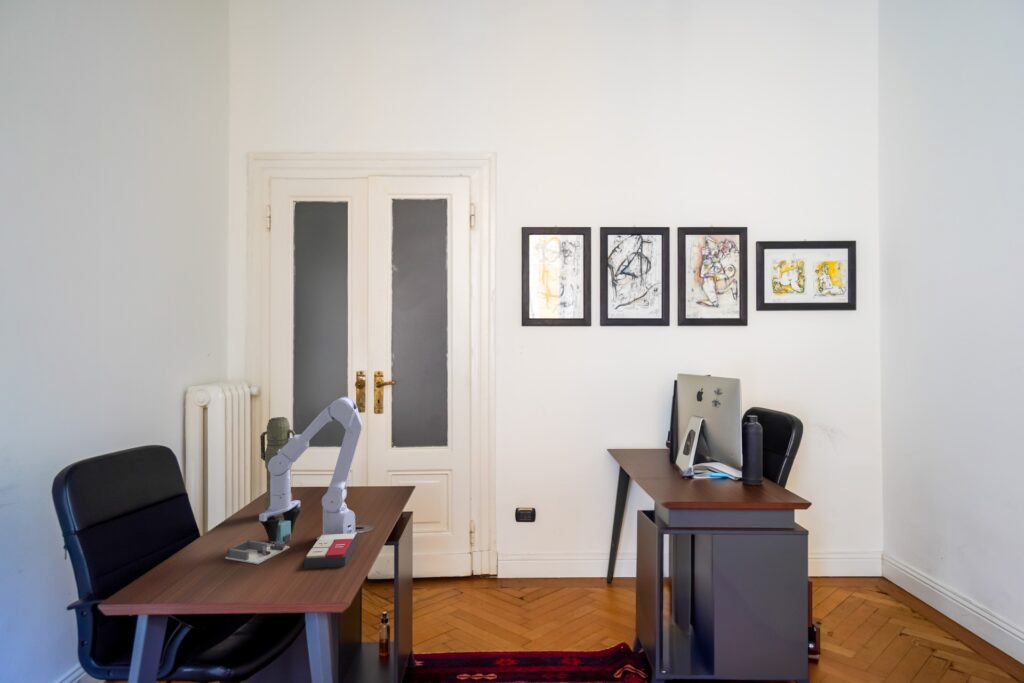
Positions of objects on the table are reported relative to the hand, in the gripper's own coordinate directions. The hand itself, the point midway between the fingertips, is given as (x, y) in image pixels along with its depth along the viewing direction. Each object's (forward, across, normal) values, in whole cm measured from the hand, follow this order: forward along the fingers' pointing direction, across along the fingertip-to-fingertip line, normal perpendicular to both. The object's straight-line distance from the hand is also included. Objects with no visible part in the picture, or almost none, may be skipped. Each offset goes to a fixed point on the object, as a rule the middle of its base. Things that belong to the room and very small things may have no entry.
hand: (280, 536), depth 151 cm
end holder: (+1, +11, -2) cm, 11 cm away
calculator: (+2, +4, +23) cm, 23 cm away
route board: (+1, +9, 0) cm, 9 cm away
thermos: (+2, -20, -21) cm, 29 cm away
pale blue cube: (+2, 0, 0) cm, 2 cm away
